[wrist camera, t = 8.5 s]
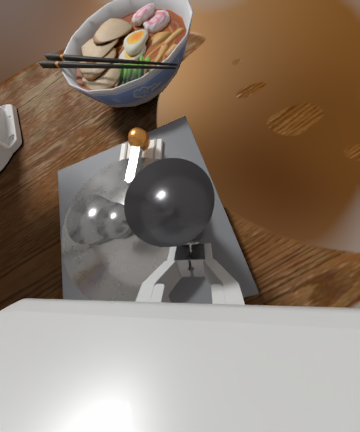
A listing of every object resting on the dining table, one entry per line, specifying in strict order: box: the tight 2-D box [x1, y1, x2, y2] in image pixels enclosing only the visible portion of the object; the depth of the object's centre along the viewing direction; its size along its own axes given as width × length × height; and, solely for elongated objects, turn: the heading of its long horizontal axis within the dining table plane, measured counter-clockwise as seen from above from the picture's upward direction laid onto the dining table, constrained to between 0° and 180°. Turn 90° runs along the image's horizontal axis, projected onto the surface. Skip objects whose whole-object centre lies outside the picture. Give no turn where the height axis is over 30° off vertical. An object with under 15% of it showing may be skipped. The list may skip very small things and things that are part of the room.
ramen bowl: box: [39, 0, 193, 107], centre depth 24 cm, size 25×23×8 cm
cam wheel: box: [62, 127, 215, 301], centre depth 13 cm, size 20×23×12 cm
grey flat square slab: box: [58, 116, 259, 304], centre depth 20 cm, size 27×25×3 cm
